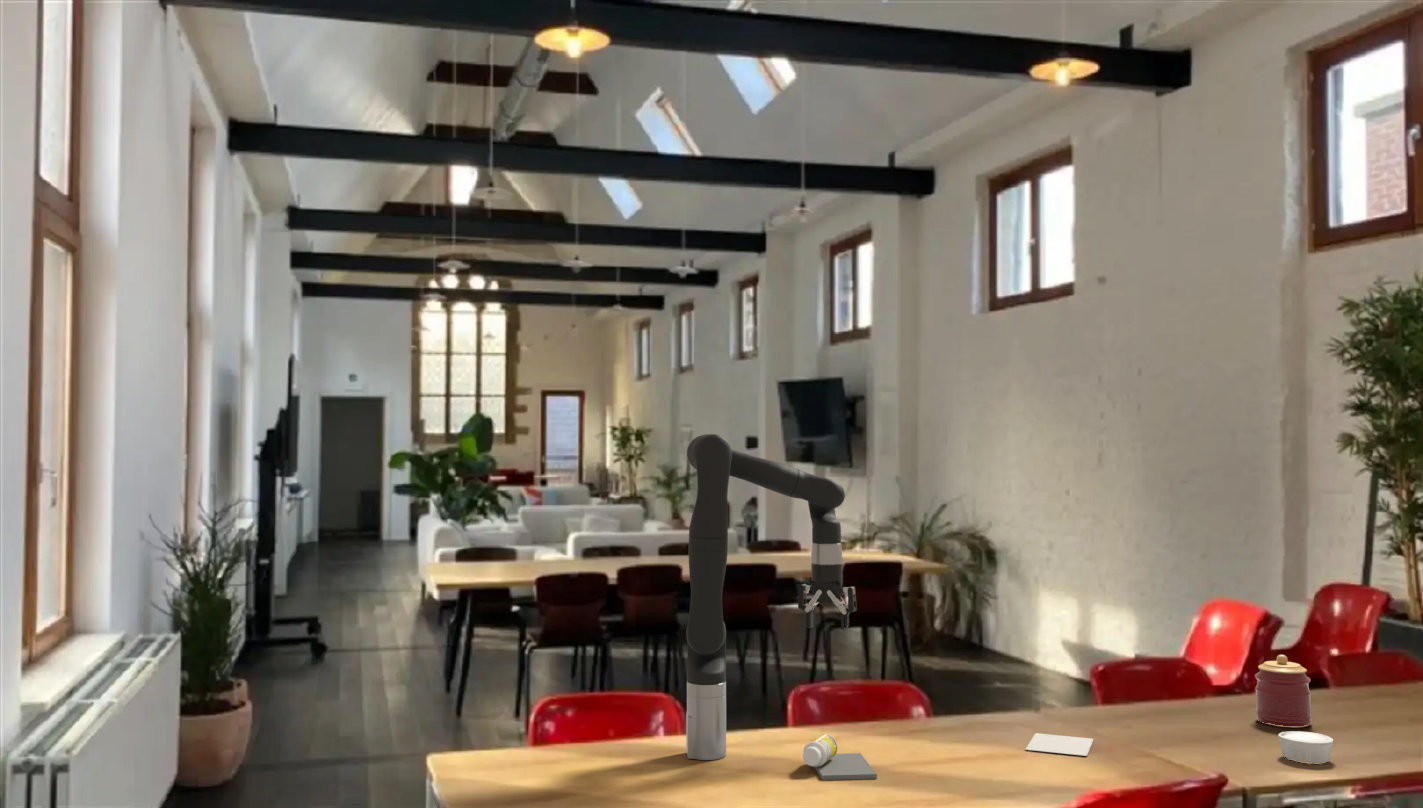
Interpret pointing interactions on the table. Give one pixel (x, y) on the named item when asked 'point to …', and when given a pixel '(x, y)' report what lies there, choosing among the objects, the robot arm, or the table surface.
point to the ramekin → (1306, 746)
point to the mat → (846, 768)
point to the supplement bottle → (820, 750)
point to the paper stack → (1060, 744)
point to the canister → (1283, 693)
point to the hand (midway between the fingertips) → (827, 628)
